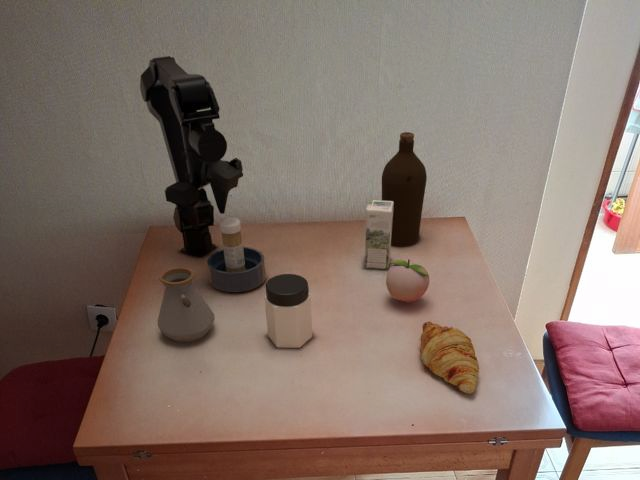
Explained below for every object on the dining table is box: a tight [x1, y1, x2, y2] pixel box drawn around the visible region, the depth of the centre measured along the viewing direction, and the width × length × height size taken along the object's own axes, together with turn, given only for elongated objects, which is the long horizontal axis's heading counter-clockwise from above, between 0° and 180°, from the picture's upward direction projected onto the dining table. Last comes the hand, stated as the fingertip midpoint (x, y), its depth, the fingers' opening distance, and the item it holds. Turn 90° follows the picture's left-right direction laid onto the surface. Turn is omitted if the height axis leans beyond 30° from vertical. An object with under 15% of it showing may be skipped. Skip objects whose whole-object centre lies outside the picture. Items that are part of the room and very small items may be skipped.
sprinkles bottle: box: [219, 217, 245, 272], centre depth 136 cm, size 5×5×14 cm
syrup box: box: [364, 199, 394, 271], centre depth 140 cm, size 6×6×14 cm
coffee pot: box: [157, 267, 215, 343], centre depth 117 cm, size 21×12×15 cm, turn 18°
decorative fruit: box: [385, 259, 430, 303], centre depth 129 cm, size 9×8×10 cm
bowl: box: [206, 246, 267, 293], centre depth 139 cm, size 13×13×5 cm
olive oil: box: [381, 131, 428, 247], centre depth 147 cm, size 11×11×25 cm
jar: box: [263, 273, 313, 349], centre depth 119 cm, size 9×8×12 cm
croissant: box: [419, 321, 480, 394], centre depth 113 cm, size 21×10×8 cm, turn 16°
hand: (209, 221), depth 134 cm, fingers open, 9 cm apart
